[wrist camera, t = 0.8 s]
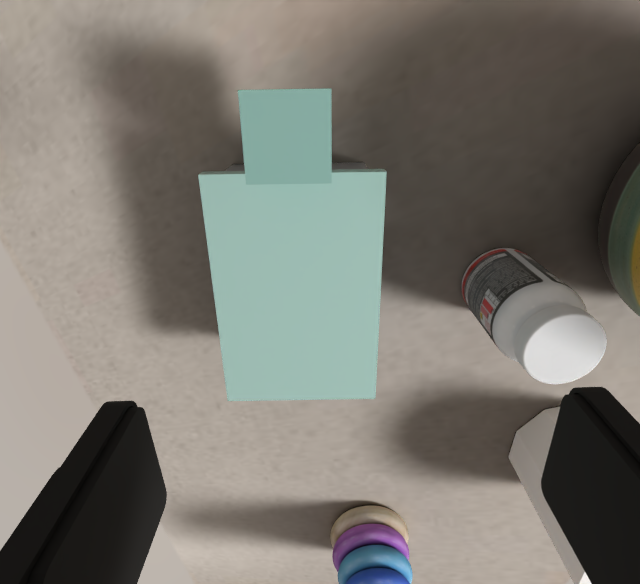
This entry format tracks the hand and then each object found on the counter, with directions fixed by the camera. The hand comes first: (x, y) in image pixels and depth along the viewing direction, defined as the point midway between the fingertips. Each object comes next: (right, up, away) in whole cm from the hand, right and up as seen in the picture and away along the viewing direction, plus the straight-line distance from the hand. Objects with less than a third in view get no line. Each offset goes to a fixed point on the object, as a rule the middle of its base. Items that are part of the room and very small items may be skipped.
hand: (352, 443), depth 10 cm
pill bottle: (+13, +4, +23) cm, 27 cm away
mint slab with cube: (-2, +5, +16) cm, 17 cm away
